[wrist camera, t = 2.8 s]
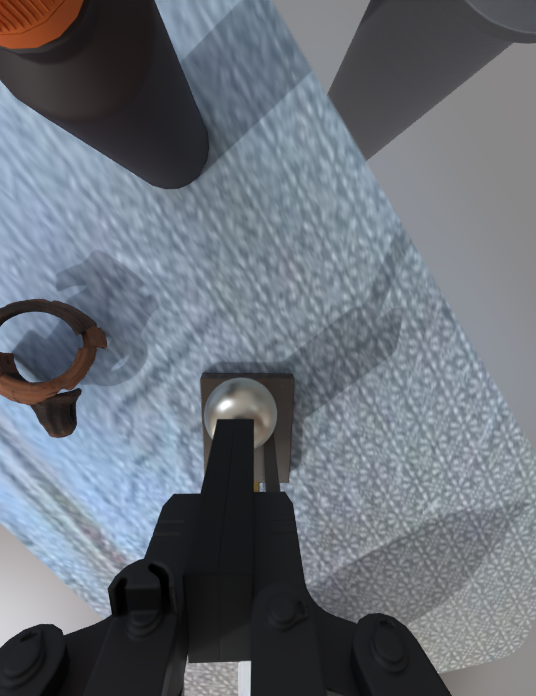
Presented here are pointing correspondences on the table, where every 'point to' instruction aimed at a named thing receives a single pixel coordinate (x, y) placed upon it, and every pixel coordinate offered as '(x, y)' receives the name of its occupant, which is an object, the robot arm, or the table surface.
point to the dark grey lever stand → (277, 449)
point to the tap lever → (243, 408)
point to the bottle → (106, 82)
